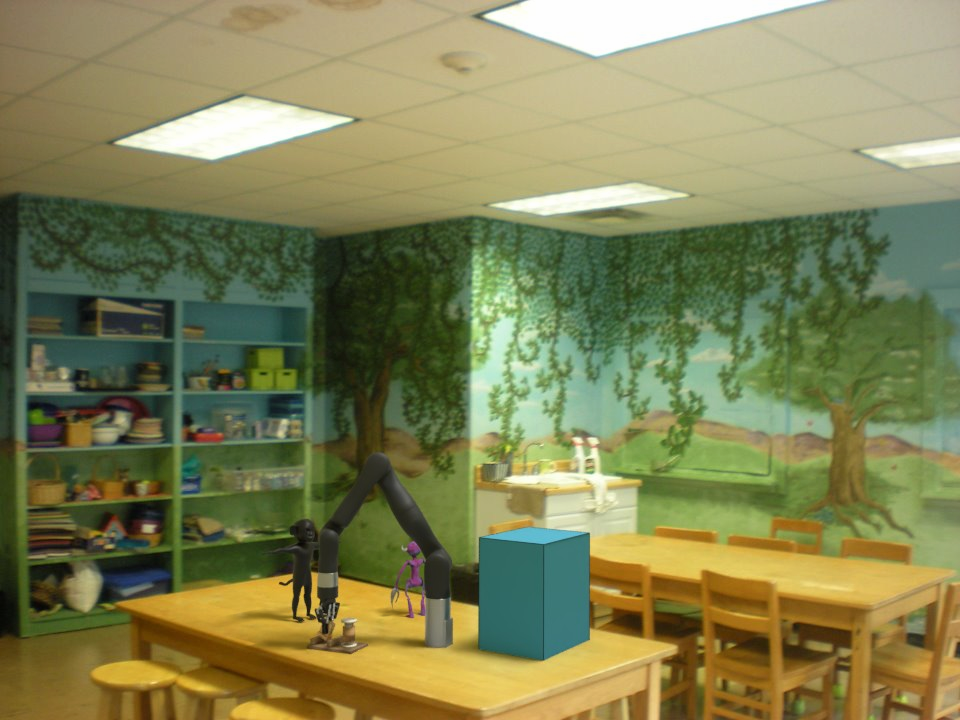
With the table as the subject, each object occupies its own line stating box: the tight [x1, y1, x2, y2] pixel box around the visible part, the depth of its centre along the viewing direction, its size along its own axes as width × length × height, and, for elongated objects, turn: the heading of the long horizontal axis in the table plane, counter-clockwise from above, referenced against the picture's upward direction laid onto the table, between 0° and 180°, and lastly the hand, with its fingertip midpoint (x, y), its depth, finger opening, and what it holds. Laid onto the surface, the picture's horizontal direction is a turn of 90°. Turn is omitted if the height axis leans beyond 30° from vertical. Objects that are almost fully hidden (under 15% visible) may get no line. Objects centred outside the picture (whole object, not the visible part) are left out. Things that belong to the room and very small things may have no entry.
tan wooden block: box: [316, 618, 337, 641], centre depth 351 cm, size 4×4×6 cm
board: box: [306, 617, 369, 655], centre depth 349 cm, size 18×12×10 cm, turn 66°
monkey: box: [261, 518, 341, 623], centre depth 396 cm, size 40×20×40 cm, turn 140°
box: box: [477, 526, 591, 662], centre depth 353 cm, size 27×33×40 cm
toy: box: [390, 541, 426, 619], centre depth 400 cm, size 19×9×30 cm, turn 130°
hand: (327, 632), depth 351 cm, fingers closed on tan wooden block, 2 cm apart
